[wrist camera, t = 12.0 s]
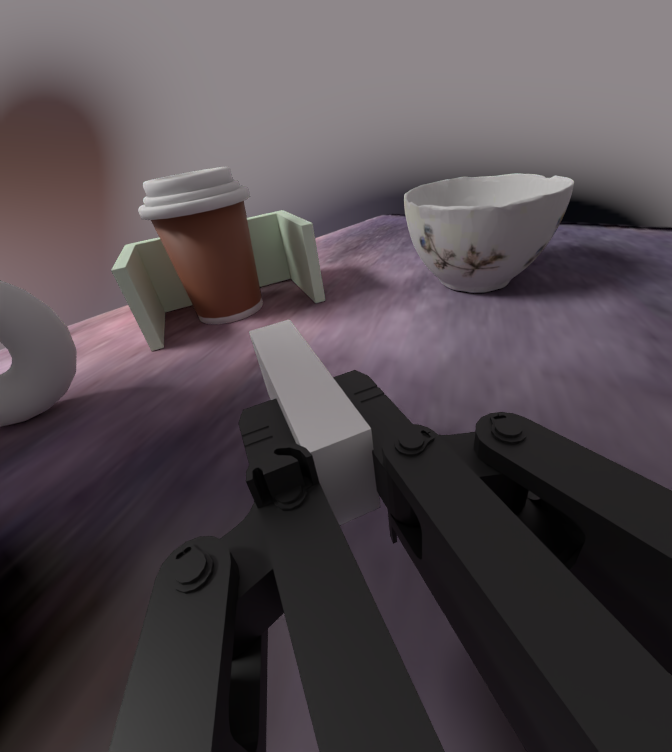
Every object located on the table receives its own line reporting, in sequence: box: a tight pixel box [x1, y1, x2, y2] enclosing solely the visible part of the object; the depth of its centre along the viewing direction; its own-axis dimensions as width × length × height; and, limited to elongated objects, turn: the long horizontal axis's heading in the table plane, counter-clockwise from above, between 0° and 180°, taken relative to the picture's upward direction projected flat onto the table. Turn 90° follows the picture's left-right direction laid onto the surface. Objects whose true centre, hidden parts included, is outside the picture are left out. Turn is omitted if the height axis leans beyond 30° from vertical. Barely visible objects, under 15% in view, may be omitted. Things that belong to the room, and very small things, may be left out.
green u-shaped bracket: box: [111, 210, 326, 351], centre depth 34 cm, size 16×10×7 cm, turn 111°
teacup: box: [404, 173, 574, 293], centre depth 31 cm, size 15×12×8 cm
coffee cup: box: [138, 167, 263, 325], centre depth 32 cm, size 9×9×12 cm
